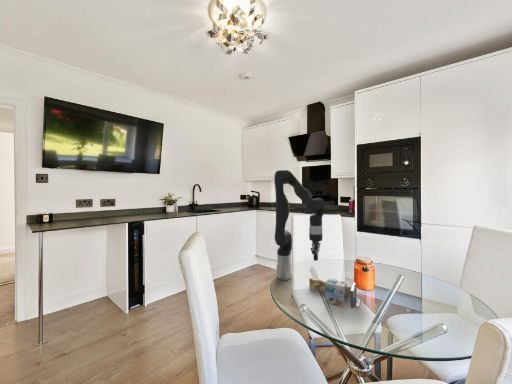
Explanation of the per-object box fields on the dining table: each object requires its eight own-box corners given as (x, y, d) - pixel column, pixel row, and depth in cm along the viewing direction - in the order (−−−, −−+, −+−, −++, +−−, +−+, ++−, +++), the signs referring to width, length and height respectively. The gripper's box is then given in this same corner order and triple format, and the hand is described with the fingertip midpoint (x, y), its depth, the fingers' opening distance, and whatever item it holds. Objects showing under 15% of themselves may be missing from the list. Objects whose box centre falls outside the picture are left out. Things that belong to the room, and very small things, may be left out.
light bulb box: (325, 300, 143) (325, 282, 142) (328, 294, 149) (328, 277, 148) (344, 305, 138) (344, 287, 137) (346, 299, 144) (346, 281, 142)
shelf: (303, 297, 147) (303, 288, 146) (310, 286, 159) (310, 277, 158) (353, 309, 133) (353, 299, 132) (356, 296, 145) (356, 287, 145)
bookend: (350, 307, 135) (350, 290, 134) (353, 298, 144) (353, 282, 143) (358, 309, 133) (358, 292, 132) (360, 300, 142) (360, 283, 141)
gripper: (312, 228, 152) (312, 255, 154) (306, 234, 141) (306, 263, 143) (325, 229, 148) (324, 257, 151) (319, 236, 137) (319, 265, 139)
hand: (315, 260), depth 147 cm, fingers closed
